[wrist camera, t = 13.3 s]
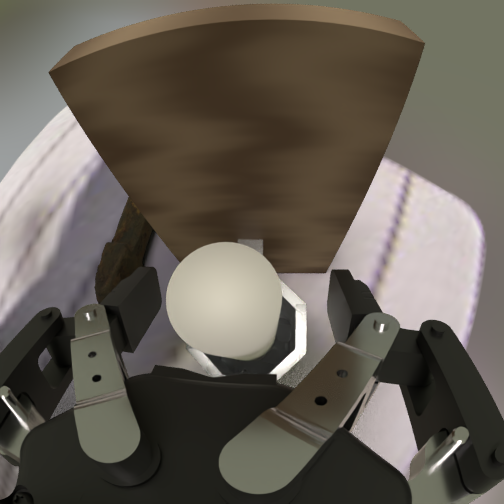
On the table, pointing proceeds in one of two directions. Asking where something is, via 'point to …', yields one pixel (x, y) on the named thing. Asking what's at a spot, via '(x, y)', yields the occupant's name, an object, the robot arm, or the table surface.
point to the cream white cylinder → (226, 301)
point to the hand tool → (123, 251)
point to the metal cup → (285, 345)
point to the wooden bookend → (245, 121)
